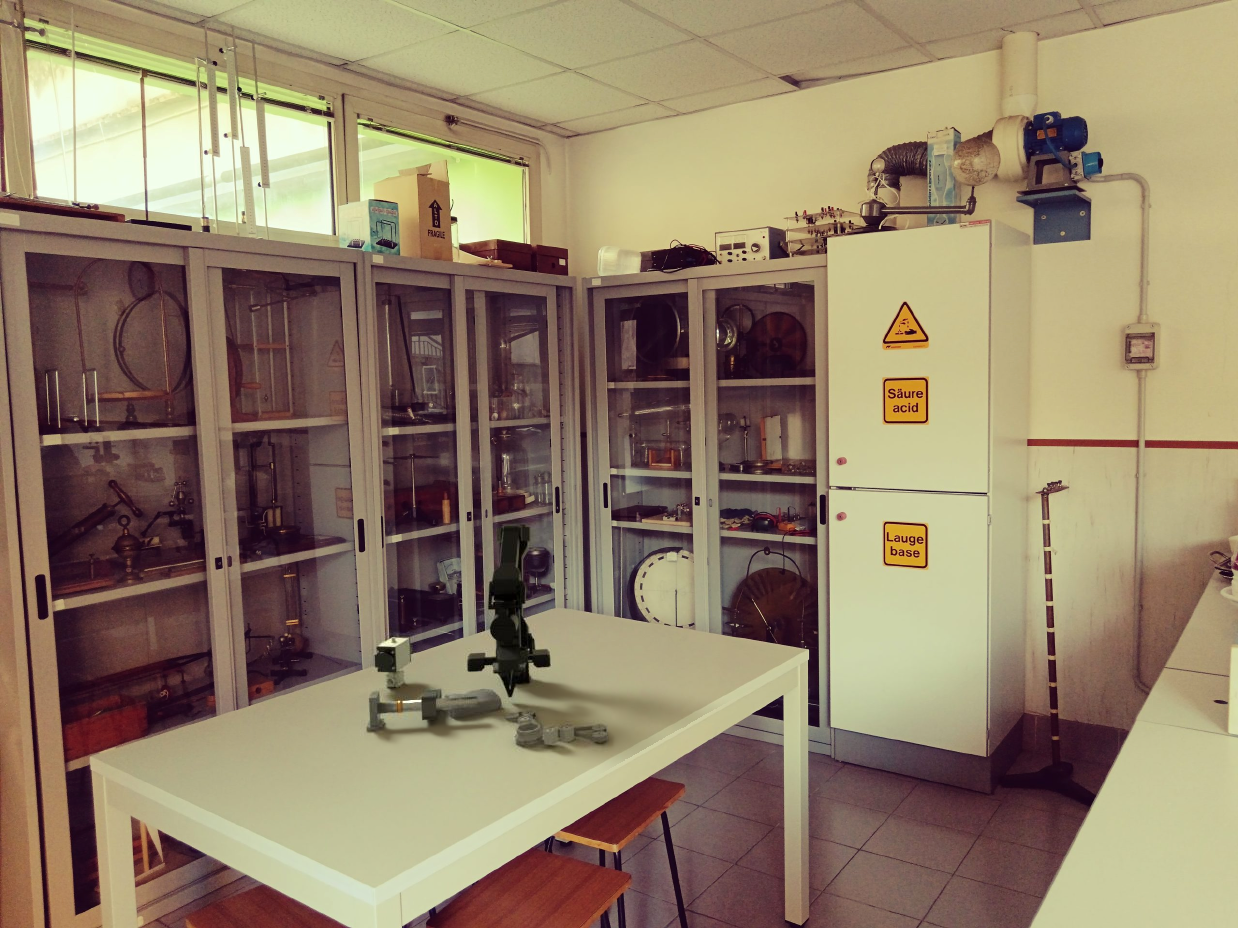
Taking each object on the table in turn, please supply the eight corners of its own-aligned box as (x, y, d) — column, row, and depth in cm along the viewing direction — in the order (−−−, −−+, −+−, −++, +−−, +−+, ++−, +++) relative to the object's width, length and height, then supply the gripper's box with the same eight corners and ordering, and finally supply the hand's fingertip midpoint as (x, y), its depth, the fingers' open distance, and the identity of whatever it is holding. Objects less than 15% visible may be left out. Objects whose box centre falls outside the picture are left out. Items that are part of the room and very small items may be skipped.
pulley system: (573, 766, 173) (619, 737, 185) (570, 743, 172) (617, 715, 184) (472, 741, 189) (521, 716, 201) (470, 720, 189) (519, 695, 200)
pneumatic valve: (414, 678, 226) (412, 631, 226) (393, 693, 215) (391, 644, 214) (393, 677, 228) (391, 630, 227) (372, 692, 216) (370, 643, 215)
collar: (441, 699, 207) (440, 676, 206) (436, 721, 193) (435, 697, 192) (428, 700, 207) (427, 677, 206) (422, 722, 192) (421, 698, 192)
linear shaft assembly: (478, 715, 199) (477, 684, 198) (477, 723, 194) (476, 692, 193) (370, 722, 196) (368, 691, 195) (366, 731, 191) (365, 698, 190)
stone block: (440, 714, 205) (452, 719, 196) (439, 693, 206) (450, 697, 197) (490, 707, 211) (504, 712, 202) (489, 686, 211) (502, 690, 202)
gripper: (464, 641, 196) (467, 711, 198) (550, 636, 199) (552, 705, 200) (467, 628, 207) (469, 695, 209) (548, 624, 210) (550, 689, 211)
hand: (510, 696), depth 207 cm, fingers closed
